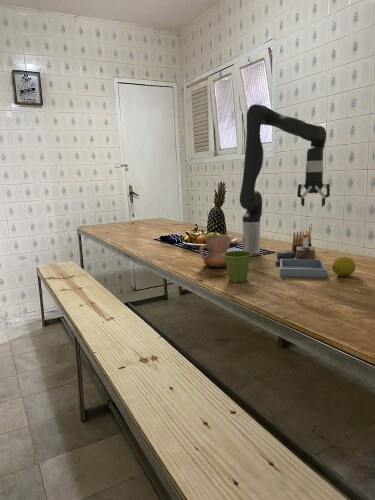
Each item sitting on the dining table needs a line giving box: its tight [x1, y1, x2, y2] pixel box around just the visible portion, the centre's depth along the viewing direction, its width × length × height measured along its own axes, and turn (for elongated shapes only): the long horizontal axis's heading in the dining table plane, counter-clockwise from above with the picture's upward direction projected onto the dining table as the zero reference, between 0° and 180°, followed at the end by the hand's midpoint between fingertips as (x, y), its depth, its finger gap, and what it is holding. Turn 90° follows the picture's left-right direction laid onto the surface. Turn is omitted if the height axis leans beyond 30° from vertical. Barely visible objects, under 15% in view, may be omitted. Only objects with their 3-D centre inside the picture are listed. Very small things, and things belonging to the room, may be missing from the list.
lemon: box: [331, 256, 356, 277], centre depth 156 cm, size 11×8×8 cm
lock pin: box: [301, 232, 309, 249], centre depth 179 cm, size 3×3×12 cm
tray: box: [279, 258, 327, 279], centre depth 166 cm, size 18×18×4 cm
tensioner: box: [275, 246, 316, 266], centre depth 181 cm, size 18×12×7 cm, turn 77°
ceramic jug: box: [199, 234, 236, 269], centre depth 181 cm, size 18×14×14 cm
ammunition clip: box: [291, 230, 312, 254], centre depth 199 cm, size 11×2×12 cm, turn 105°
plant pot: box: [223, 250, 253, 283], centre depth 156 cm, size 12×12×11 cm
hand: (312, 206), depth 179 cm, fingers open, 8 cm apart
